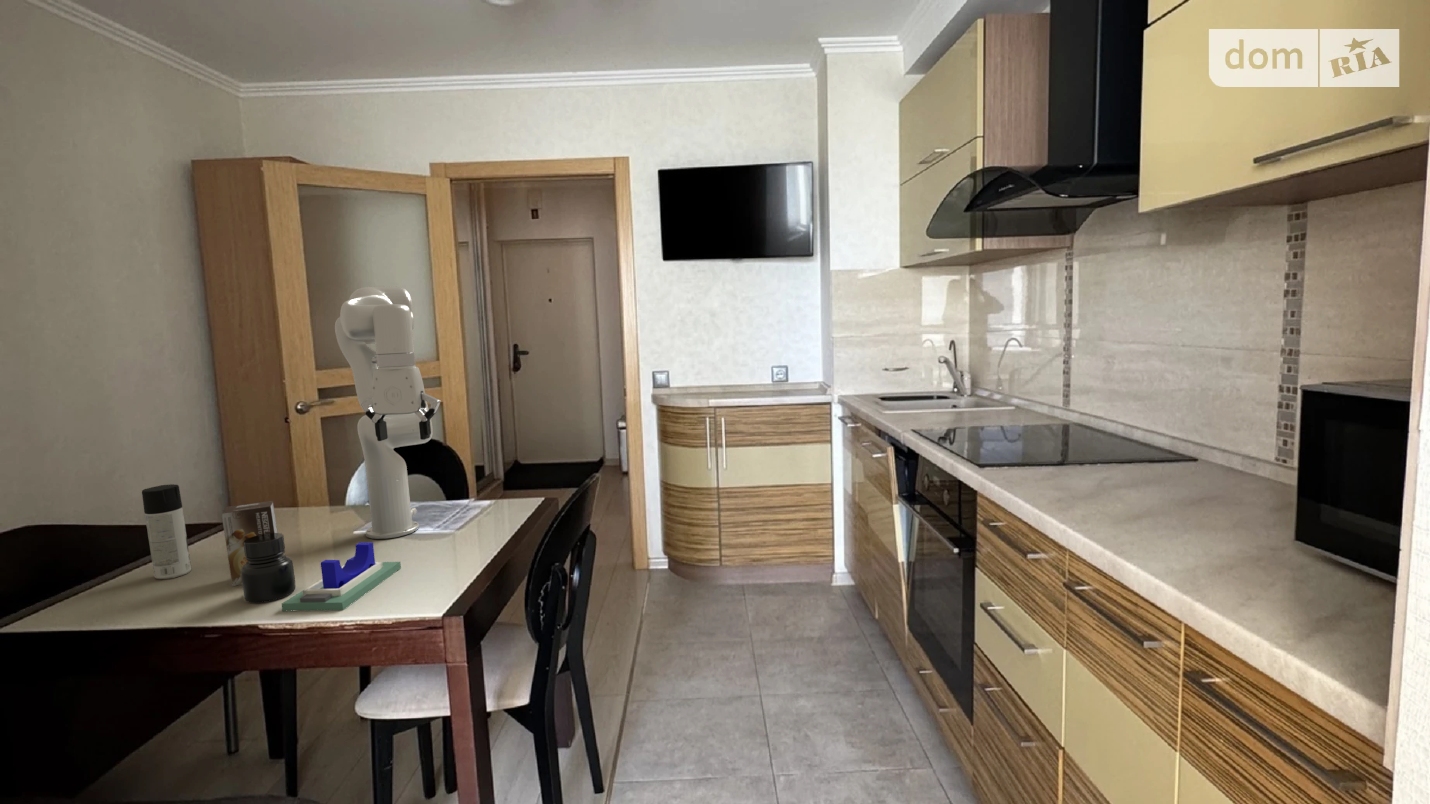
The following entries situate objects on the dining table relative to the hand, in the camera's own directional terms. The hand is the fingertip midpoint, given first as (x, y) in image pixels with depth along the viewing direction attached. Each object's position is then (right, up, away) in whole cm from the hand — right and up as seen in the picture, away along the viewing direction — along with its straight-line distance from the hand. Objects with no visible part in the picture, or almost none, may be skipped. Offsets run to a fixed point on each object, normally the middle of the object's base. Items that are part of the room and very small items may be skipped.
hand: (404, 439), depth 154 cm
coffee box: (-31, -30, -2) cm, 43 cm away
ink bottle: (-22, -31, -12) cm, 40 cm away
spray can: (-53, -31, +3) cm, 61 cm away
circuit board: (-8, -30, -10) cm, 33 cm away
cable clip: (-7, -29, -10) cm, 31 cm away
